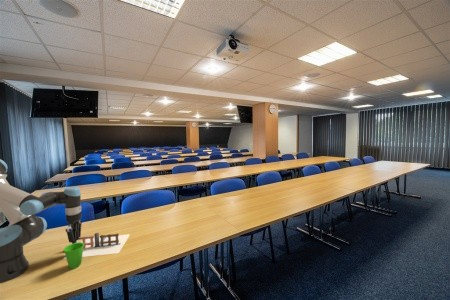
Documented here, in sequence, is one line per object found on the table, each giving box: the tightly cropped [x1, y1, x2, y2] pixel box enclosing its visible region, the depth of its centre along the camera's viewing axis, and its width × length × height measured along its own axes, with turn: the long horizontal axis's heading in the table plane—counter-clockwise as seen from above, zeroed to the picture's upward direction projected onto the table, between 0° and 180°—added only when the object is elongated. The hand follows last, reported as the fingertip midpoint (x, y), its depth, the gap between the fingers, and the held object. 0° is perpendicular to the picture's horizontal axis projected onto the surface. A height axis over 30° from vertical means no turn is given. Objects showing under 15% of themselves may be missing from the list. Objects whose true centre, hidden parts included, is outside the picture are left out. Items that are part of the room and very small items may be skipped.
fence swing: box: [78, 235, 95, 248], centre depth 124 cm, size 2×12×8 cm, turn 101°
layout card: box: [62, 233, 131, 260], centre depth 127 cm, size 25×30×1 cm
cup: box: [63, 241, 84, 270], centre depth 106 cm, size 9×9×11 cm
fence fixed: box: [93, 232, 120, 247], centre depth 127 cm, size 2×14×8 cm, turn 100°
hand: (75, 251), depth 117 cm, fingers closed
